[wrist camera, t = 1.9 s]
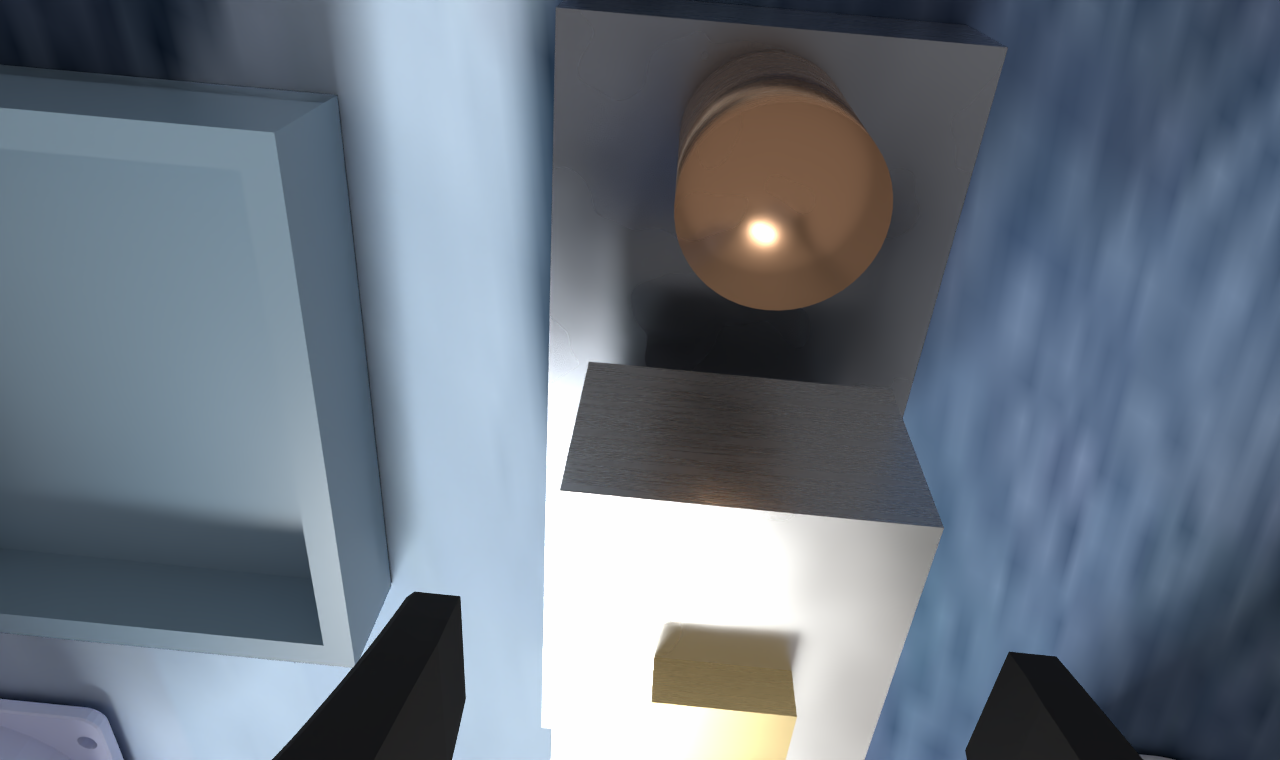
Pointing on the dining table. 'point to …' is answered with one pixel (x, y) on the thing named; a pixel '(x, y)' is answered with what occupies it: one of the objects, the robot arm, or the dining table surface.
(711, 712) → the white yellow block
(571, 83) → the hand plane
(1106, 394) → the dining table surface
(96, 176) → the tray
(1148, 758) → the bath foam
